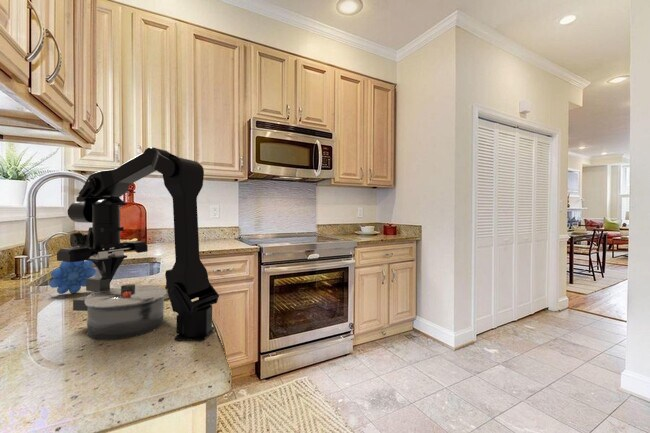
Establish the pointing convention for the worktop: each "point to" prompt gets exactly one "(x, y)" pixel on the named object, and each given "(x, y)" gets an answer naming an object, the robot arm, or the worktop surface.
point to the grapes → (71, 276)
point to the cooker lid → (120, 294)
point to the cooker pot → (121, 319)
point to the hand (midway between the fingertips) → (107, 283)
